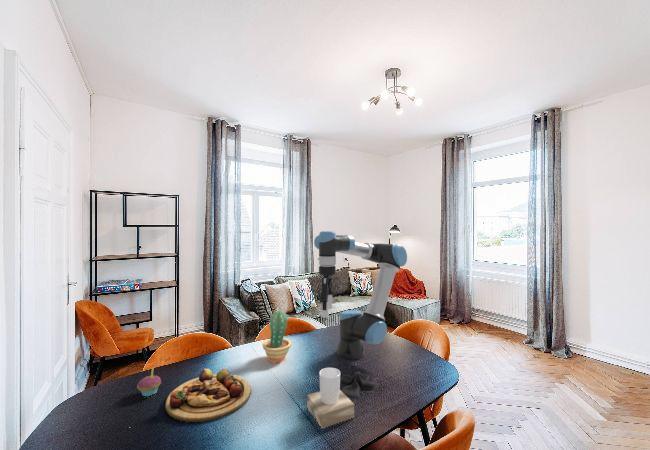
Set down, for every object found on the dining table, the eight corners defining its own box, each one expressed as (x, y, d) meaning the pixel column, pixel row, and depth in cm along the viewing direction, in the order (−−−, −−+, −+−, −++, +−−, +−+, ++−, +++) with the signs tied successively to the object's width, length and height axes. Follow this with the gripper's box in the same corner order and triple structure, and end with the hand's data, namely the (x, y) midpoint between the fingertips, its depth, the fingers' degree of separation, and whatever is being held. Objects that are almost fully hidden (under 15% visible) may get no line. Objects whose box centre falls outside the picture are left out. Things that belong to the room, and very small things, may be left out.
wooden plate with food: (163, 436, 95) (164, 411, 95) (166, 387, 124) (166, 368, 124) (259, 410, 110) (260, 388, 110) (242, 372, 138) (242, 355, 139)
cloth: (343, 402, 115) (343, 386, 115) (330, 379, 133) (330, 365, 133) (394, 394, 120) (394, 379, 121) (375, 372, 138) (375, 360, 138)
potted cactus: (296, 360, 150) (297, 312, 150) (269, 368, 141) (269, 317, 141) (283, 350, 163) (283, 305, 163) (257, 357, 154) (257, 309, 154)
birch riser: (307, 408, 110) (307, 394, 110) (336, 399, 116) (336, 386, 116) (322, 429, 99) (322, 414, 99) (354, 417, 104) (354, 404, 105)
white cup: (338, 407, 103) (338, 378, 103) (317, 404, 104) (317, 376, 104) (341, 394, 110) (341, 368, 110) (321, 392, 112) (321, 366, 112)
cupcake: (165, 390, 121) (166, 362, 122) (147, 402, 113) (147, 371, 114) (150, 387, 124) (151, 359, 124) (131, 398, 116) (132, 368, 116)
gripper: (323, 262, 143) (323, 305, 143) (313, 269, 118) (313, 321, 118) (338, 262, 142) (338, 305, 141) (331, 269, 117) (331, 322, 117)
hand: (327, 312), depth 130 cm, fingers open, 13 cm apart
